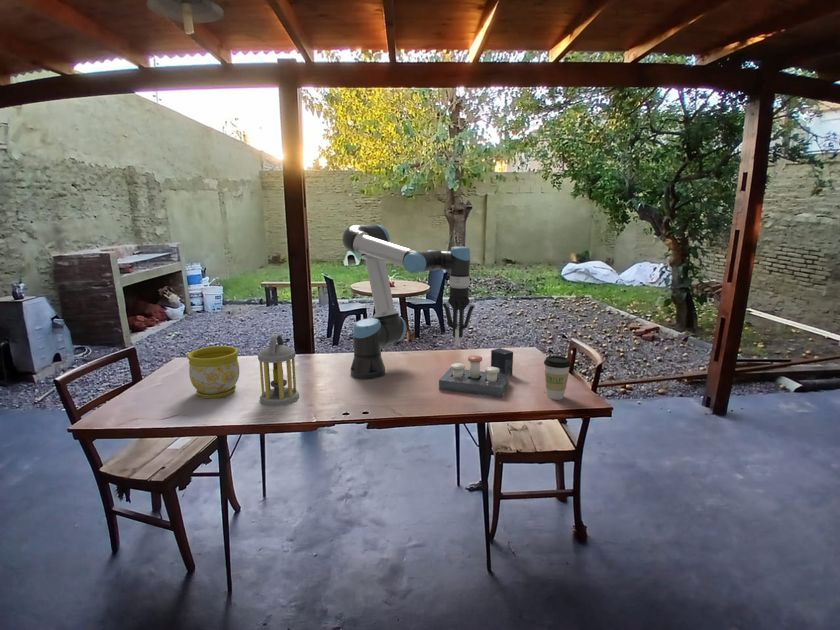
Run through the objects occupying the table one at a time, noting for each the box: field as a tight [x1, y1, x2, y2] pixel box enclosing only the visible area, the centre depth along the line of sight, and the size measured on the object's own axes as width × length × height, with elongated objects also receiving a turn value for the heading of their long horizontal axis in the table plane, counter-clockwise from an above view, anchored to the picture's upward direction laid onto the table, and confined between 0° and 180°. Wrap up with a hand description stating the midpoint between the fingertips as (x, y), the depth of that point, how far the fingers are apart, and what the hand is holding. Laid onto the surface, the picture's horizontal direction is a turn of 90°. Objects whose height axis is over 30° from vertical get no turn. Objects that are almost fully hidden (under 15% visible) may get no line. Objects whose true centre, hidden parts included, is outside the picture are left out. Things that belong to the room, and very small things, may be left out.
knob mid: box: [467, 355, 483, 378], centre depth 189 cm, size 6×6×8 cm
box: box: [490, 347, 514, 377], centre depth 205 cm, size 8×6×11 cm
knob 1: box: [450, 362, 466, 378], centre depth 193 cm, size 6×6×8 cm
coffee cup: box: [543, 355, 572, 401], centre depth 179 cm, size 10×10×15 cm
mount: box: [438, 367, 510, 398], centre depth 191 cm, size 25×16×4 cm, turn 70°
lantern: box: [257, 333, 300, 407], centre depth 176 cm, size 14×14×25 cm
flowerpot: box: [186, 345, 240, 399], centre depth 183 cm, size 18×18×16 cm
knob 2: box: [484, 366, 499, 382], centre depth 188 cm, size 6×6×8 cm
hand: (457, 344), depth 190 cm, fingers closed
